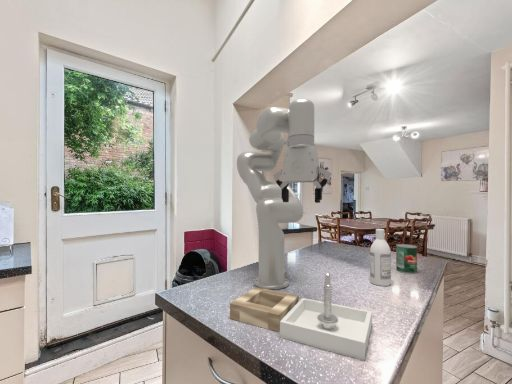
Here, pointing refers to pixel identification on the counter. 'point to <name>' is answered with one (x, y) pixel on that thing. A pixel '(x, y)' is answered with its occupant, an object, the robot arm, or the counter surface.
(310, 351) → the counter surface
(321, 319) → the screw
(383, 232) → the bath foam
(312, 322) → the tray
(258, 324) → the holder
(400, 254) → the canned tomato
